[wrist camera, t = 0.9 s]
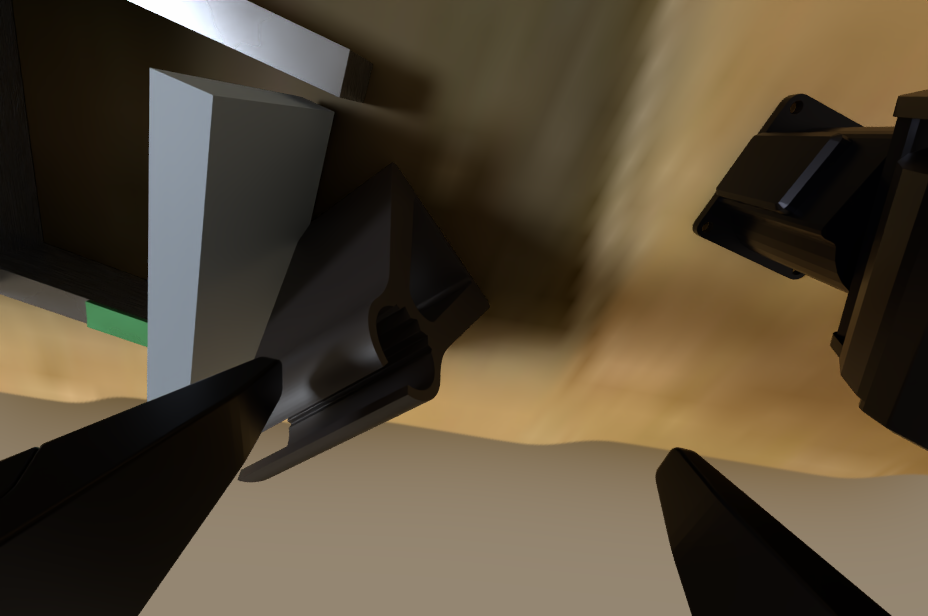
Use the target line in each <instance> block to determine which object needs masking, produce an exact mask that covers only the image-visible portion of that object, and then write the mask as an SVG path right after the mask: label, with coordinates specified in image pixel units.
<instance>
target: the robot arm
mask: <svg viewBox="0 0 928 616" xmlns="http://www.w3.org/2000/svg"><path fill="white" fill-rule="evenodd" d="M794 102H795V103H796V108H795V110H794V111H793V112H792V113H791V112H790V107H791V105H792V104H793V103H794ZM893 116H894V117H898V118H897V121H896V125H895V127H863V126H861V125H859V124H858V123H856V122H854V121H852V120H850V119H849V118H847V117H845V116H843V115H842V114H840V113H838V112H836V111H834V110H833V109H831V108H829V107H827V106H826V105H824V104H822V103H820V102H818V101H817V100H815V99H813V98H811V97H809V96H808V95H805V94H795V95H790V96H788V97H786V98H784V99H783V100H782V101H781V102H780V104H779V105H778V106H777V108H776V109H775V111H774V112H773V113H772V115H771V116H770V118H769V119H768V120H767V122H766V123H765V125H764V126H763V127H762V129H761V130H760V131H759V133H758V134H757V135H755V136H754V137H753V138H752V139H751V140H750V142H749V143H748V145H747V146H746V147H745V149H744V150H743V152H742V153H741V154H740V156H739V157H738V159H737V160H736V161H735V163H734V164H733V166H732V167H731V168H730V170H729V171H728V173H727V174H726V175H725V177H724V178H723V179H722V181H721V182H720V184H719V185H718V186H717V189H716V193H715V194H714V195H713V197H712V198H711V200H710V201H709V202H708V204H707V205H706V207H705V208H704V209H703V211H702V212H701V214H700V215H699V216H698V218H697V219H696V220H695V222H694V224H693V231H694V233H695V234H696V235H698V236H701V237H703V238H705V239H707V240H709V241H711V242H713V243H715V244H718V245H720V246H722V247H724V248H726V249H728V250H730V251H732V252H735V253H737V254H739V255H741V256H743V257H745V258H747V259H749V260H752V261H754V262H756V263H758V264H760V265H762V266H764V267H766V268H769V269H771V270H773V271H775V272H777V273H779V274H781V275H783V276H786V277H788V278H790V279H799V278H801V277H803V276H804V275H808V276H810V277H812V278H814V279H817V280H819V281H821V282H823V283H826V284H828V285H830V286H833V287H835V288H837V289H839V290H842V291H844V292H846V293H848V296H847V300H846V303H845V307H844V311H843V314H842V318H841V321H840V325H839V328H838V332H834V333H833V336H832V340H831V343H830V346H831V348H832V349H833V350H834V352H835V353H836V354H837V355H838V357H839V362H840V374H841V376H842V377H843V379H844V380H845V381H846V382H847V384H848V385H849V386H850V388H851V389H852V390H853V391H854V393H855V394H856V395H857V396H858V397H859V398H860V399H861V400H860V403H859V408H860V409H861V410H862V411H863V412H864V413H866V414H867V415H869V416H870V417H871V418H873V419H874V420H876V421H877V422H879V423H880V424H882V425H883V426H884V427H886V428H887V429H889V430H890V431H892V432H893V433H895V434H897V435H899V436H901V437H903V438H904V439H906V440H908V441H910V442H912V443H914V444H916V445H918V446H920V447H921V448H923V449H925V450H927V451H928V90H923V91H918V92H914V93H909V94H905V95H900V96H898V99H897V103H896V106H895V110H894V114H893ZM707 222H709V226H708V228H707V229H705V230H703V231H702V227H703V225H704V224H705V223H707ZM793 269H794V270H795V271H793ZM282 390H283V372H282V363H281V361H280V360H278V359H274V358H270V357H265V356H261V357H258V358H255V359H253V360H250V361H248V362H245V363H243V364H240V365H238V366H235V367H233V368H230V369H228V370H225V371H223V372H220V373H218V374H215V375H213V376H210V377H208V378H205V379H203V380H200V381H198V382H195V383H193V384H190V385H188V386H185V387H183V388H180V389H178V390H175V391H173V392H171V393H168V394H166V395H163V396H161V397H158V398H156V399H153V400H151V401H148V402H146V403H143V404H141V405H138V406H136V407H134V408H131V409H128V410H126V411H123V412H121V413H118V414H116V415H113V416H111V417H109V418H106V419H103V420H101V421H99V422H96V423H93V424H91V425H88V426H86V427H84V428H81V429H79V430H76V431H73V432H71V433H69V434H66V435H64V436H61V437H59V438H56V439H54V440H51V441H49V442H46V443H44V444H42V445H41V446H40V448H39V447H34V448H31V449H29V450H26V451H24V452H21V453H19V454H16V455H13V456H11V457H9V458H6V459H4V460H1V461H0V616H138V615H139V614H140V612H141V611H142V609H143V608H144V606H145V605H146V603H147V602H148V601H149V599H150V598H151V596H152V595H153V593H154V592H155V590H156V589H157V587H158V586H159V585H160V583H161V582H162V581H163V579H164V578H165V576H166V575H167V573H168V572H169V570H170V569H171V568H172V566H173V565H174V563H175V562H176V560H177V559H178V558H179V556H180V555H181V553H182V552H183V550H184V549H185V547H186V546H187V545H188V543H189V542H190V540H191V539H192V537H193V536H194V535H195V533H196V532H197V530H198V529H199V527H200V526H201V524H202V523H203V522H204V520H205V519H206V517H207V516H208V515H209V513H210V512H211V510H212V509H213V507H214V506H215V505H216V503H217V502H218V500H219V499H220V497H221V496H222V495H223V493H224V492H225V490H226V488H227V487H228V486H229V484H230V483H231V482H232V480H233V479H234V477H235V476H236V474H237V473H238V471H239V470H240V468H241V467H242V465H243V464H244V462H245V461H246V459H247V457H248V456H249V454H250V452H251V450H252V448H253V447H254V445H255V443H256V441H257V439H258V438H259V436H260V434H261V432H262V430H263V429H264V427H265V425H266V423H267V421H268V420H269V418H270V416H271V414H272V412H273V411H274V409H275V407H276V405H277V403H278V402H279V400H280V397H281V395H282ZM656 484H657V489H658V493H659V498H660V502H661V507H662V511H663V516H664V520H665V525H666V529H667V534H668V538H669V542H670V546H671V550H672V554H673V557H674V561H675V564H676V567H677V570H678V574H679V576H680V580H681V583H682V586H683V589H684V592H685V595H686V598H687V601H688V605H689V608H690V611H691V614H692V616H891V615H890V614H889V613H888V612H887V611H885V610H884V609H883V608H882V607H881V606H879V605H878V604H877V603H876V602H874V601H873V600H872V599H871V598H870V597H869V596H867V595H866V594H865V593H864V592H862V591H861V590H860V589H859V588H858V587H857V586H855V585H854V584H853V583H852V582H851V581H849V580H848V579H847V578H846V577H844V576H843V575H842V574H841V573H840V572H839V571H837V570H836V569H835V568H834V567H832V566H831V565H830V564H829V563H828V562H827V561H825V560H824V559H823V558H822V557H821V556H819V555H818V554H817V553H816V552H815V551H813V550H812V549H811V548H810V547H809V546H807V545H806V544H805V543H804V542H803V541H801V540H800V539H799V538H798V537H797V536H795V535H794V534H793V533H792V532H791V531H789V530H788V529H787V528H786V527H785V526H783V525H782V524H781V523H780V522H779V521H777V520H776V519H775V518H774V517H773V516H771V515H770V514H769V513H768V512H767V511H765V510H764V509H763V508H762V507H761V506H760V505H758V504H757V503H756V502H755V501H754V500H752V499H751V498H750V497H749V496H747V495H746V494H745V493H744V492H743V491H741V490H740V489H739V488H738V487H737V486H736V485H734V484H733V483H732V482H731V481H729V480H728V479H727V478H726V477H725V476H724V475H722V474H721V473H720V472H719V471H718V470H716V469H715V468H714V467H713V466H712V465H710V464H709V463H708V462H707V461H705V460H704V459H703V458H702V457H701V456H700V455H698V454H697V453H696V452H694V451H692V450H688V449H683V448H679V447H675V448H673V449H671V451H670V452H669V453H668V455H667V456H666V458H665V459H664V461H663V462H662V463H661V465H660V466H659V468H658V469H657V472H656Z"/></svg>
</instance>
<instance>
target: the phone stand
mask: <svg viewBox="0 0 928 616" xmlns="http://www.w3.org/2000/svg"><path fill="white" fill-rule="evenodd" d="M489 307H490V306H489V303H488V301H487V299H486V298H485V296H484V295H483V293H482V292H481V290H480V289H479V287H478V286H477V285H476V283H475V282H474V280H473V279H472V277H471V276H470V274H469V273H468V271H467V270H466V268H465V267H464V265H463V264H462V262H461V261H460V259H459V258H458V256H457V255H456V253H455V252H454V250H453V249H452V247H451V246H450V244H449V243H448V242H447V241H446V240H445V238H444V235H443V234H442V232H441V231H440V229H439V228H438V226H437V225H436V223H435V222H434V220H433V219H432V217H431V216H430V214H429V213H428V211H427V210H426V208H425V207H424V205H423V204H422V202H421V201H420V200H419V198H418V197H417V195H416V194H415V192H414V191H413V189H412V188H411V186H410V185H409V183H408V182H407V180H406V179H405V177H404V176H403V174H402V173H401V171H400V170H399V168H398V167H397V166H396V164H395V163H393V162H392V163H391V164H389V165H388V166H387V167H385V168H384V169H383V170H381V171H380V172H379V173H377V174H376V175H375V176H373V177H372V178H371V179H369V180H368V181H367V182H365V183H364V184H362V185H361V186H360V187H358V188H357V189H356V190H354V191H353V192H352V193H350V194H349V195H348V196H346V197H345V198H344V199H342V200H341V201H340V202H338V203H337V204H335V205H334V206H333V207H331V208H330V209H329V210H327V211H326V212H325V213H323V214H322V215H321V216H319V217H318V218H317V219H315V220H314V221H313V222H311V223H310V225H309V226H308V228H307V229H306V231H305V232H304V234H303V235H302V237H301V238H300V239H299V241H298V243H297V245H296V248H295V251H294V253H293V256H292V259H291V261H290V264H289V267H288V269H287V272H286V275H285V278H284V280H283V283H282V286H281V288H280V291H279V294H278V296H277V299H276V302H275V304H274V307H273V310H272V312H271V315H270V318H269V321H268V323H267V326H266V329H265V331H264V334H263V337H262V339H261V342H260V345H259V347H258V350H257V353H256V356H255V358H258V357H261V356H265V357H270V358H274V359H278V360H280V361H281V363H282V372H283V390H282V395H281V397H280V400H279V402H278V403H277V405H276V407H275V409H274V411H273V412H272V414H271V416H270V418H269V420H268V421H267V423H266V425H265V427H264V429H263V430H262V432H263V431H265V430H267V429H269V428H271V427H273V426H275V425H276V424H278V423H280V422H282V421H284V420H286V419H287V418H288V422H290V423H291V426H290V427H289V441H288V445H287V447H285V448H283V449H281V450H279V451H277V452H275V453H273V454H271V455H269V456H268V457H266V458H263V459H262V460H260V461H258V462H256V463H254V464H252V465H250V466H248V467H246V468H244V469H242V470H241V472H240V475H239V477H238V480H239V481H243V482H259V481H263V480H266V479H269V478H271V477H273V476H275V475H277V474H279V473H281V472H283V471H285V470H287V469H289V468H292V467H294V466H295V465H298V464H300V463H302V462H304V461H306V460H308V459H310V458H312V457H314V456H316V455H318V454H320V453H322V452H324V451H326V450H329V449H331V448H333V447H335V446H337V445H339V444H341V443H343V442H345V441H347V440H349V439H351V438H353V437H355V436H357V435H359V434H362V433H364V432H366V431H368V430H370V429H372V428H374V427H376V426H378V425H380V424H382V423H384V422H386V421H388V420H390V419H392V418H395V417H397V416H399V415H401V414H403V413H405V412H407V411H409V410H411V409H413V408H415V407H417V406H419V405H421V404H423V403H425V402H427V401H430V400H432V399H433V398H434V397H435V396H436V395H437V393H438V391H439V387H440V371H441V362H442V358H443V355H444V353H445V351H446V349H447V348H448V347H449V346H450V345H451V344H452V343H453V342H454V341H455V340H456V339H457V338H458V337H460V336H461V335H462V334H463V333H464V332H465V331H466V330H467V329H468V328H469V327H470V326H471V325H472V324H473V323H474V322H475V321H476V320H477V319H478V318H479V317H480V316H481V315H482V314H483V313H484V312H485V311H486V310H487V309H488V308H489ZM255 358H254V359H255ZM262 432H261V433H262Z"/></svg>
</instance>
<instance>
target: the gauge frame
mask: <svg viewBox="0 0 928 616" xmlns="http://www.w3.org/2000/svg"><path fill="white" fill-rule="evenodd" d="M128 1H130V2H133V3H135V4H137V5H139V6H141V7H144V8H146V9H148V10H150V11H152V12H154V13H157V14H159V15H161V16H163V17H165V18H168V19H170V20H172V21H174V22H176V23H178V24H181V25H183V26H185V27H187V28H189V29H191V30H194V31H196V32H198V33H200V34H202V35H205V36H207V37H209V38H211V39H213V40H215V41H218V42H220V43H222V44H224V45H226V46H229V47H231V48H233V49H235V50H237V51H239V52H242V53H244V54H246V55H248V56H250V57H253V58H255V59H257V60H259V61H261V62H263V63H266V64H268V65H270V66H272V67H274V68H276V69H279V70H281V71H283V72H285V73H287V74H290V75H292V76H294V77H296V78H298V79H300V80H303V81H305V82H307V83H309V84H311V85H314V86H316V87H318V88H320V89H322V90H324V91H327V92H329V93H331V94H333V95H335V96H337V97H340V98H344V99H348V100H352V101H356V102H361V103H363V102H364V98H365V94H366V90H367V86H368V82H369V78H370V74H371V70H372V66H373V64H372V63H371V62H369V61H367V60H366V59H364V58H362V57H361V56H359V55H358V54H356V53H354V52H353V51H351V50H349V49H347V48H345V47H343V46H341V45H339V44H337V43H335V42H333V41H331V40H329V39H327V38H324V37H322V36H320V35H318V34H316V33H314V32H312V31H310V30H308V29H306V28H304V27H301V26H299V25H297V24H295V23H293V22H291V21H289V20H287V19H285V18H283V17H281V16H279V15H276V14H274V13H272V12H270V11H268V10H266V9H264V8H262V7H260V6H258V5H256V4H253V3H251V2H249V1H247V0H128ZM0 294H2V295H4V296H7V297H10V298H13V299H16V300H19V301H22V302H25V303H28V304H31V305H34V306H37V307H40V308H43V309H46V310H49V311H52V312H55V313H58V314H60V315H63V316H66V317H69V318H72V319H75V320H78V321H81V322H84V323H87V327H89V328H92V329H95V330H98V331H101V332H104V333H107V334H110V335H113V336H116V337H119V338H122V339H125V340H128V341H131V342H134V343H137V344H140V345H143V346H146V347H148V280H145V279H142V278H139V277H137V276H134V275H131V274H128V273H126V272H123V271H120V270H117V269H115V268H112V267H109V266H106V265H103V264H101V263H98V262H95V261H92V260H90V259H87V258H84V257H81V256H79V255H76V254H73V253H70V252H68V251H65V250H62V249H59V248H57V247H54V246H51V245H48V244H45V243H43V236H42V229H41V221H40V214H39V206H38V199H37V191H36V184H35V176H34V169H33V161H32V154H31V146H30V139H29V131H28V124H27V116H26V109H25V101H24V94H23V86H22V79H21V71H20V64H19V56H18V48H17V41H16V33H15V26H14V18H13V11H12V3H11V0H0Z"/></svg>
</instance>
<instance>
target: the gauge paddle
mask: <svg viewBox="0 0 928 616" xmlns="http://www.w3.org/2000/svg"><path fill="white" fill-rule="evenodd" d="M334 113H335V112H334V111H332V110H329V109H327V108H325V107H323V106H321V105H318V104H316V103H314V102H312V101H309V100H307V99H305V98H303V97H299V96H294V95H289V94H284V93H278V92H273V91H268V90H263V89H258V88H253V87H248V86H242V85H237V84H232V83H227V82H222V81H217V80H211V79H206V78H201V77H196V76H191V75H186V74H180V73H175V72H170V71H165V70H160V69H155V68H150V98H149V229H148V360H147V402H148V401H151V400H153V399H156V398H158V397H161V396H163V395H166V394H168V393H171V392H173V391H175V390H178V389H180V388H183V387H185V386H188V385H190V384H193V383H195V382H198V381H200V380H203V379H205V378H208V377H210V376H213V375H215V374H218V373H220V372H223V371H225V370H228V369H230V368H233V367H235V366H238V365H240V364H243V363H245V362H248V361H250V360H253V359H254V358H255V356H256V353H257V350H258V347H259V345H260V342H261V339H262V337H263V334H264V331H265V329H266V326H267V323H268V321H269V318H270V315H271V312H272V310H273V307H274V304H275V302H276V299H277V296H278V294H279V291H280V288H281V286H282V283H283V280H284V278H285V275H286V272H287V269H288V267H289V264H290V261H291V259H292V256H293V253H294V251H295V248H296V245H297V243H298V241H299V239H300V238H301V237H302V235H303V234H304V232H305V231H306V229H307V228H308V226H309V225H310V222H311V218H312V213H313V209H314V204H315V200H316V195H317V190H318V186H319V181H320V177H321V172H322V168H323V163H324V158H325V154H326V149H327V145H328V140H329V136H330V131H331V126H332V122H333V117H334Z"/></svg>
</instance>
